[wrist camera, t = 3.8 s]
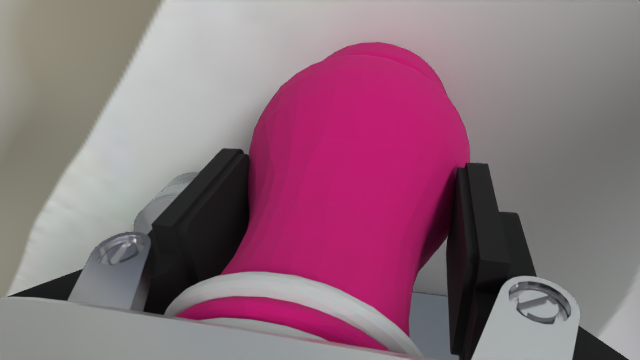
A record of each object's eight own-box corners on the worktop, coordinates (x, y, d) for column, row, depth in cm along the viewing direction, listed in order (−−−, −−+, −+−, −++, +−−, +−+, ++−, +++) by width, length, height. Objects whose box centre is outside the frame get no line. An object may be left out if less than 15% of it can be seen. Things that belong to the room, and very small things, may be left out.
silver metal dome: (243, 174, 21) (218, 208, 18) (256, 250, 23) (235, 289, 21) (156, 168, 22) (120, 199, 20) (177, 241, 25) (148, 277, 22)
